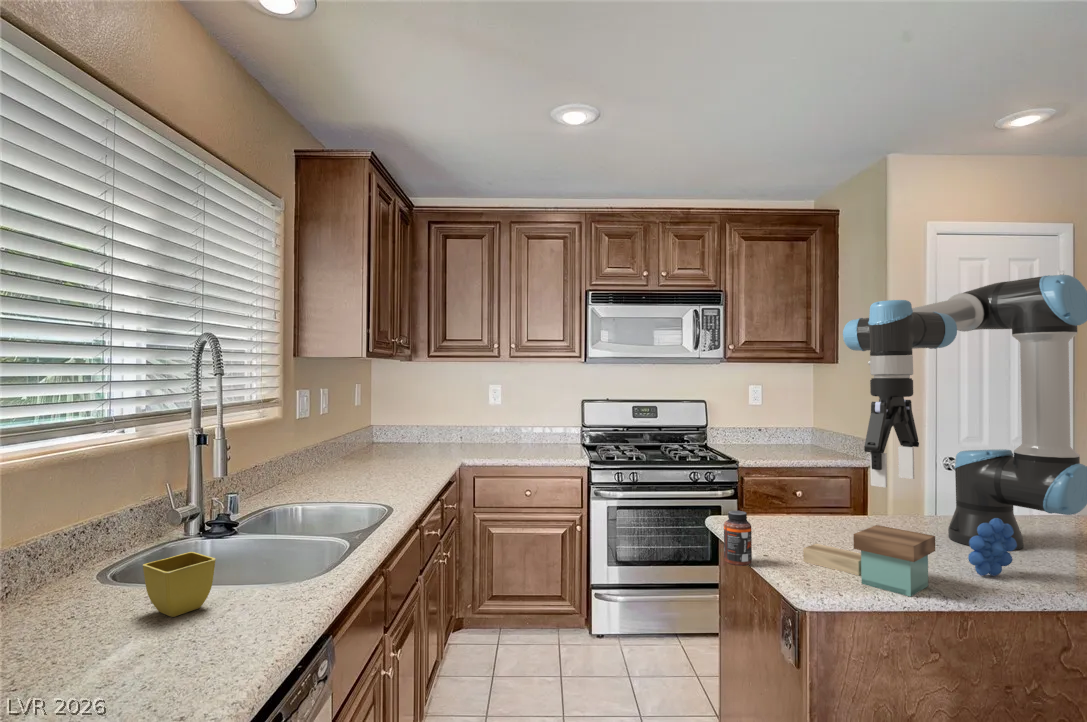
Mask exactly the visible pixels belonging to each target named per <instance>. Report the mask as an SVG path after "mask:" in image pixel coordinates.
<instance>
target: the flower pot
mask: <svg viewBox="0 0 1087 722" xmlns="http://www.w3.org/2000/svg"><path fill="white" fill-rule="evenodd" d="M215 566H216V558H215V557H212V556H208V555H205V554H201V553H198V552H195V551H189V552H185V553H181V554H177V555H174V556H170V557H167V558H163V559H158V560H155V561H154V560H153V561H150V562H147V563H144V564H142V570H143V577H144V583H145V588H146V592H147V595H148V597H149V600H150V602H151V603H152V605H153V606H154V607H155V609H156V610H157V611H158V612H160V613H161V614H164V615H166V616H168V617H170V618H173V617H174V618H175V617H177V616H181V615H184V614H186V613H189V612H192V611H195V610H198V609H200V608H202V606H203V605H204V603H205V602H206V600H207V599H208V597H209V595H210V592H211V589H212V586H213V581H214V575H215V568H216V567H215Z"/></svg>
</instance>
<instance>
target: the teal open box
mask: <svg viewBox="0 0 1087 722" xmlns="http://www.w3.org/2000/svg"><path fill="white" fill-rule="evenodd" d="M860 553H861V575H860V576H861V578H860V579H861V581H860V582H861V585H863V586H864V585H865V586H868V587H872V588H877V589H880V590H884V591H887V592H892V593H895V594H899V595H903V596H906V597H909V598H910V597H913V596H914V595H916V594H918V593H920V592H921V591H922V590H924V589H926V588H927V587H929V555H927V556H925V557H923V558H921V559H919V560H917V561H915V562H911V561H907V560H902V559H898V558H893V557H889V556H884V555H880V554H875V553H871V552H866V551H861V550H860Z"/></svg>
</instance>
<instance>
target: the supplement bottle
mask: <svg viewBox="0 0 1087 722" xmlns="http://www.w3.org/2000/svg"><path fill="white" fill-rule="evenodd" d="M727 514H728V515H727V518H728V519H727V520H725V521H724V523H723V557H724V562H725V563H727V564H729V565H731V566H735V567H736V566H737V567H738V566H739V567H746V566H749V565H751V564H752V559H753V558H752V556H753V554H752V553H753V551H752V550H753V549H752V543H753V542H752V525H751V523H750V522H749V521H748V515H747V512H746V511H741V510H730V511H728V513H727Z"/></svg>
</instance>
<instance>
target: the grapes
mask: <svg viewBox="0 0 1087 722" xmlns="http://www.w3.org/2000/svg"><path fill="white" fill-rule="evenodd" d="M977 533H978V534H979V536H973V537H972V538H971V539H970V540H969V545H968V546H969V547H970V549H971V550H972V551H971V552H969V554H968V555H967V556H968V557H967V558H968V562H969V564H970V565H973V566H974V570H975V572H976V573H977V574H978V575H979V576H987V575H988V574H989V575H990V576H991V577H994V576H995V577H996V576H999V575H1000V574H1001V573H1002V572H1003V567H1008V566H1010V565H1011V563H1013V556H1012V554H1011V553H1010V552H1013V551H1015V550H1014V549H1015V548H1016V547H1017V543H1016V541H1015V539H1014V538H1012V537H1011V536H1012V535H1013V533H1014V530H1013V528H1012V526H1011V525H1009V524H1004V523H1003V521H1002V520H1001V519H999V518H994V519H992V520H991V521H990V522H989V523H982V524H980V525H979V526H978V527H977Z"/></svg>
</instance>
